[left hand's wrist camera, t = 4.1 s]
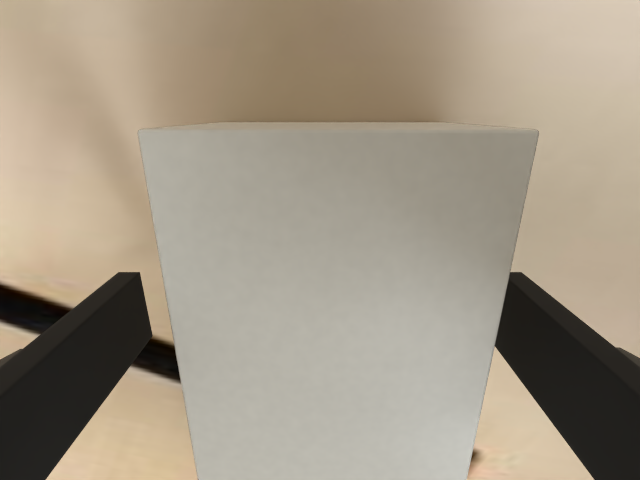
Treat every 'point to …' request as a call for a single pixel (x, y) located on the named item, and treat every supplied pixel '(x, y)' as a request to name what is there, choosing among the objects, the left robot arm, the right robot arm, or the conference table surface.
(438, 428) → the wide beam
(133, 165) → the conference table surface
